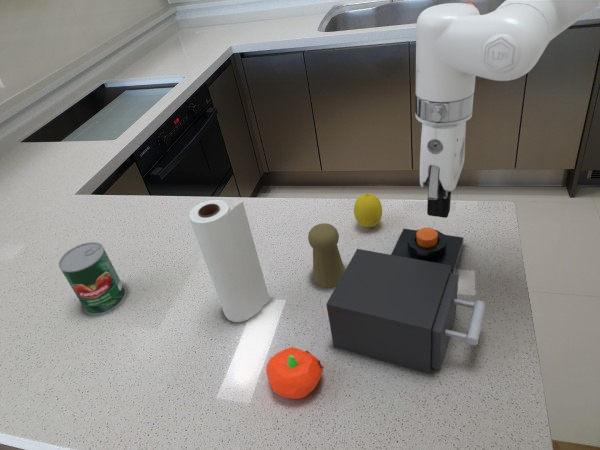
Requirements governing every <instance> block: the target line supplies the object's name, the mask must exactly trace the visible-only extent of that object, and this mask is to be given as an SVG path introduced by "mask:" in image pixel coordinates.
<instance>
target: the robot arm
mask: <svg viewBox="0 0 600 450" xmlns="http://www.w3.org/2000/svg"><path fill="white" fill-rule="evenodd" d="M599 7H600V0H504V1H503V2H502V3H500V5H498V7H497V8H496V9H495V10H493V11H491V12H490V11H489V12H488V13H485V14H481V13H480V11H479V9H478V7H476V6H475V5H473V4H469V3H464V2H448V3H439V4H436V5H433V6H430V7H427V8H425V9H424V10H423V11H422V12H420V14H419V15H418V17H417V19H416V28H415V99H414V100H415V103H414V104H415V105H414V106H415V107H414V109H415V111H414V115H415V119H416V120H417V121H418V122H420V123H421V134H420V147H419V148H420V149H419V150H420V151H419V186H420V187H421V188H422V189H425V187H427V205H426V206H427V210H426V214H427V215H428V217H429V216H430V217H438V218H445V219H447V218H448V217H449V214H450V211H451V201H452V199H451V198H452V191H454V190H455V189H456V187H457V184H458V182H459V179H460V176H461V174H462V170H463V168H464V164H465V157H466V137H467V136H466V134H467V122H468V121H469V120H471V118H472V117H473V110H474V99H475V89H476V78H477V77H478V78H482V79H485V80H486V79H487V80H490V81H496V82H497V81H499V82H508V81H509V82H510V81H513V80H516V79H517V80H518V79H520V78H521V77H523V76H525V75H526V74H528V73H529V72H530V71H531V70H532V69H533V68H534V67H535V66H536V65H537V63H538V62H539V60H540V58H541V56H542V55H543V54H544V52H545V50H546V48H547V46H548V45H549V43H550V42H551V41H552V40H553V39H555V38H556V37H557V36H559V35H560V34H561V33H563V32H564V31H565V30H567V29H568V28H570V27H571V26H572V25H574V24H575V23H576V22H578V21H579V20H580V19H582V18H584V17H585V16H586V15H588V14H589V13H590V12H593V11H594V10H595V9H596V8H599Z"/></svg>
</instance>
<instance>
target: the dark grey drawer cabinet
mask: <svg viewBox="0 0 600 450" xmlns="http://www.w3.org/2000/svg"><path fill="white" fill-rule="evenodd" d="M450 273H451V265H445V264H440V263H434V262H429V261H423V260H417V259H412V258H406V257H401V256H395V255H391V254H389V253H383V252H378V251H372V250H367V249H361V248H356V250H355V252H354V254H353V255H352V257H351V259H350V261H349V262H348V264H347V266H346V267H345V271H344V273H343V275H342V277H341V279H340V280H339V282H338V284H337V286H336V287H334V288H333V291H332V293H331V295H330V297H328V300H327V302H326V310H327V315H328V322H329V327H330V333H331V339H332V346H333V348H335V349H338V350H342V351H346V352H350V353H353V354H355V355H356V354H357V355H360V356H363V357H366V358H367V357H368V358H371V359H374V360H377V361H381V362H385V363H388V364H392V365H395V366H397V367H398V366H399V367H402V368H406V369H409V370H413V371H417V372H420V373H424V374H427V375H431V373H432V370H433V368H432V367H431V359H432V328H433V325H434V322H435V319H436V315H437V312H438V309H439V307H440V304H441V301H442V297H443V294H444V291H445V288H446V285H447V282H448V279H449V275H450Z"/></svg>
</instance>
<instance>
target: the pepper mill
mask: <svg viewBox="0 0 600 450" xmlns="http://www.w3.org/2000/svg"><path fill="white" fill-rule="evenodd" d="M307 240H308V244H309V245H310V247H311V248H312V279H313V282H314V284H315V285H316V286H317V287H320V288H322V289H335V288H336V286H337V284H338V282H339V280H340V279H341V277H342V275H343V273H344V271H345V270H346V268H345V267H344V263H343V259H342V256H341V254H340V250H339V247H338V244H339V240H340V235H339V231H338V228H336V226H334V225H332V224H331V223H319V224H316V225H314V226H313V227H311V229H310V230H309V231H308V236H307Z"/></svg>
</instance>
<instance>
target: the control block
mask: <svg viewBox="0 0 600 450" xmlns="http://www.w3.org/2000/svg"><path fill="white" fill-rule="evenodd" d="M418 230H419V229H409V228H403V229H402V231H401V232H400V235H399V237H398V239H397V241H396V244H395V246H394V248H393V250H392V252H391V254H390V255H395V256H401V257H406V258H412V259H417V260H423V261H429V262H434V263H440V264H445V265H451V273H454V274H456V270H457V267H458V265H459V261H460V257H461V255H462V251H463V248H464V237H462V236H456V235H451V234H450V235H449V234H444V233H443V232H441V231H440V230H438V229H435V230H436V231H437V233H438V242H437V244H436V245H435V246H434V247H428V248H426V247H421V246H419V245H418V244H417V242H416V233H417V231H418Z"/></svg>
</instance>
